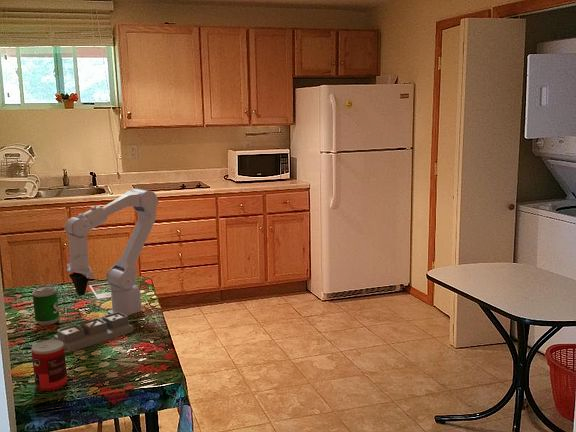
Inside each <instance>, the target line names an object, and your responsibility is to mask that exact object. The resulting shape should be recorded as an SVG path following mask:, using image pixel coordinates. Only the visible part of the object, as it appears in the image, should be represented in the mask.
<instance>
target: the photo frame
mask: <svg viewBox="0 0 576 432" xmlns="http://www.w3.org/2000/svg"><path fill="white" fill-rule="evenodd" d="M108 284H109V283H108V282H103V283H96V284H89V286H88V287H89V289H90V290H91V293H92V294H93V295H94V297H95V299H96V300H97V301H100V300H101V301H102V300H106V299H112V297H111V291H110V292H103V293H96V291H95V290H94V288H93V287H95V286H103V285H108ZM109 285H110V284H109Z"/></svg>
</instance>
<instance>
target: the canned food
mask: <svg viewBox="0 0 576 432" xmlns="http://www.w3.org/2000/svg"><path fill="white" fill-rule="evenodd" d="M65 351H66V349H65V348H64V343H63V342H62V341H59V340H54V339H46V340H41V341H39V342H36V343H35V344H32V346H31V360H32V370H33V378H34V384H35V387H36V389H37V390H39V391H41V392H42V391H43V392H44V391H45V392H51V391H55V390H59V389H61V388H63V387H64V386H65V385H66V384H67V382H68V374H67V373H68V372H67V362H66V352H65Z"/></svg>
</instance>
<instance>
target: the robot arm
mask: <svg viewBox="0 0 576 432" xmlns="http://www.w3.org/2000/svg"><path fill="white" fill-rule="evenodd" d="M159 201H160V200H159V199H158V196H157V194H156V193H155V192H154V191H152V190H145V189H141V188H132V189H130V190H128V191H125V193H124V194H122V195H120V196H119V197H117V198H116V199H113V200H112V201H111V202H109V203H107V204H106V205H104V206H99V205H96V206H95V205H92V206H90V209H88V210H86V211H85V212H83V213H79V214H78V215H77V216H76V217H75V216H73V217H70V218H68V219H67V221H65V225H64V226H63V230H64V232H65V233H66V234H67V238H68V241H67V242H68V256H69V263H66V272H68V273H70V274H68V277H69V279H71V281H72V284H73V285H74V288H75V289H74V290H75V292H76V294H77V295H78V296H83V295H84V296H85V294H86V291H87V286H88V284H89V280H90V278H94V271H93V270H92V269H91V267H90V265H89V264H90V263H89V250H88V237H87V236H88V234H89V233H90V231H91V230H92V229H94V228H96V227H98V226H100V225H102V224H103V223H105V222H106V221H107V220H108V217H109V216H111V215H114V214H115V213H117V212H120V211H121V210H124V209H125V208H128V207H132V208H133V209H134V210H135V212H136V213H137V216H138V219H137V221H136V223H135V224H134V225H135V226H134V228H133V231H132V232H131V235H130V237H129V239H128V242H127V244H126V246H125V248H124V250H123V252H122V254H121V256H120V258H119V259H118V260H116V261H115V262H114V263H113V265H112V266H111V268H110V269H109V270H108V271H107V273H106V274H105V275H106V277H105V278H106V282H107V283H109V286H110V292H111V297H112V298H111V307H112V308H111V309H110V310H108V311H107V314H112V313H115V312H121V313H123V314H125V315H128V316H130V315H134V314H137V313H139V312H140V313H141V312H143V310H144V309H143V308H142V298H141V297H142V296H141V290H140V288H139V286H137V284H135V283H136V281H137V280H136V278H137V277H136V276H137V274H138V269H137V267H136V266H137V265H136V264H137V262H138V259H139V258H140V256H141V255H140V254H141V253H142V251H143V248H144V246H145V244H146V241H147V240H148V237H149V234H150V233H151V230H152V228H153V226H154V224H155V221H156V219H157V206H158V204H159Z"/></svg>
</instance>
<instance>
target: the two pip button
mask: <svg viewBox="0 0 576 432" xmlns="http://www.w3.org/2000/svg"><path fill="white" fill-rule="evenodd" d="M122 317H123V316H121V315H119V314H117V315H113V316H110V317H107V318H108V319H110V320H115V319H118V318H122Z"/></svg>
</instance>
